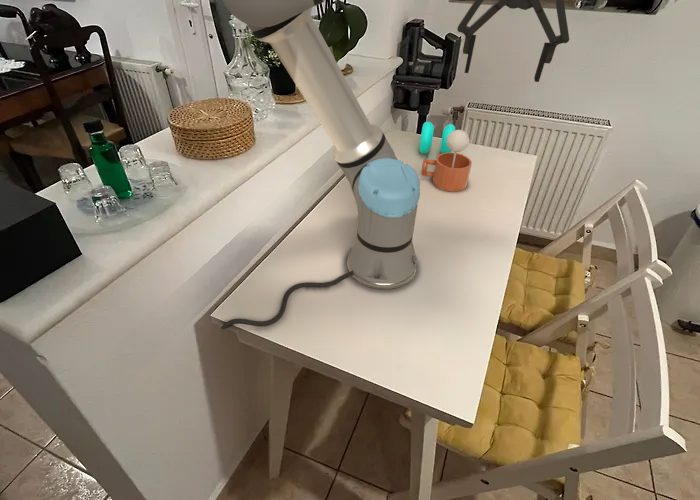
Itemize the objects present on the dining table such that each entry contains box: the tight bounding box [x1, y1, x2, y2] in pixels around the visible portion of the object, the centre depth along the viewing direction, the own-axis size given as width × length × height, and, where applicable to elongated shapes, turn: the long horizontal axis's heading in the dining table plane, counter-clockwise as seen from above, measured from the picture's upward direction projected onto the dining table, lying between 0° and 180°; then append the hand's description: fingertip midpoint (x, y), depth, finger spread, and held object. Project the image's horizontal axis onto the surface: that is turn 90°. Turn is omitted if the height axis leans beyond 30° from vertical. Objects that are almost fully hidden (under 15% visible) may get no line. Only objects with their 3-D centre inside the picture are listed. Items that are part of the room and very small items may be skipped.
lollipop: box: [446, 129, 470, 168], centre depth 119 cm, size 6×6×15 cm
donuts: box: [418, 120, 456, 155], centre depth 135 cm, size 10×10×10 cm
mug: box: [420, 152, 473, 192], centre depth 122 cm, size 13×10×7 cm
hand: (501, 75), depth 86 cm, fingers open, 13 cm apart
